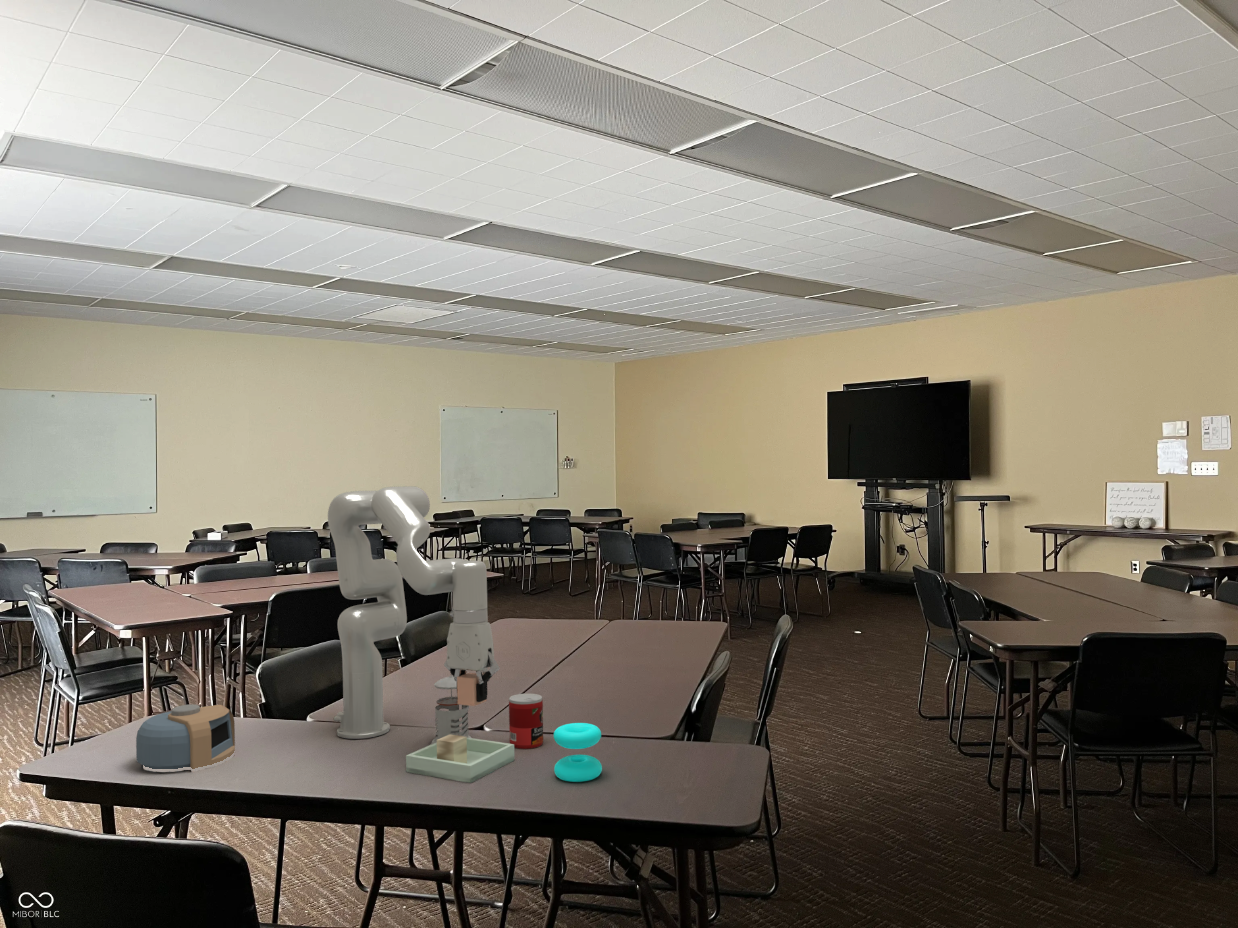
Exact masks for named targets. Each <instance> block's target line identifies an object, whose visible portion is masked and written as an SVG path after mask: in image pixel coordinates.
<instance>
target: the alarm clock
mask: <svg viewBox="0 0 1238 928" xmlns="http://www.w3.org/2000/svg"><path fill="white" fill-rule="evenodd" d="M235 729H236V728H235V719H234V714H233V713H232V711H231V710H230V709H229V708H227V707H226V706H224V705H223V704H215V705H209V706H208V705H207V706H206V705H205V706H201V707H200V705H198V704H182V705H178V706H175V707H173V708H172V709H171V711H170V710H169V711H165V712H162V713H158V714H155V715H154V716H151V717H149V718H148V719H146V720H145V721H143V722H142V723H141V725H140V727H139V728H138V730H137V734H136V737H135V738H136V740H135V742H136V743H135V747H136V758H135V759H136V762H137V763H138V764H140V765H141V766H142V765H144V766H145V767H149V768H152V769H178V768H183V767H191V768H192V769H195V768H198V767H203V766H207V765H212V764H214V763H217V762H220V761H223V760H224V759H226V758H227V757H230V756H231V755H232V754H233V753H234V751H235V752H236V742H235V740H236V739H235V738H236V736H235V735H236V733H235V732H236V731H235Z"/></svg>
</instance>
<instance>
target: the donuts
mask: <svg viewBox="0 0 1238 928" xmlns="http://www.w3.org/2000/svg"><path fill="white" fill-rule="evenodd" d="M601 738H602V731H601V729H600V728H599V727H598V726H597V725H595V724H592V723H587V722H572V723H566V724H562V725H560V726H558V727H557V728H556V729H555V730H554V731H553V740H554V741H555V743H556V744H557V745H558V746H560V747H562V748H565V749H570V750H581V749H582V750H584V749H587V748H591V747H593V746H595V745H597V744H598V742H599V741H600V740H601ZM553 768H554V769H553V772H554V774H555V776H556V777H557V778H559V780H562V781H565V782H571V783H582V782H583V783H584V782H589V781H592V780H594V779H596V778H598V777H599V776H600V774H601V773H602V771H603V765H602V763H601V762H600V760H599V759H597V757H594V756H592V755H588V754H581V753H580V754H571V755H566V756H564V757H562V758H560V759H558V760H557V762H556V763H555V764H554V767H553Z"/></svg>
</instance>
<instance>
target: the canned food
mask: <svg viewBox="0 0 1238 928" xmlns="http://www.w3.org/2000/svg"><path fill="white" fill-rule="evenodd" d="M508 718H509V719H508V722H509V724H508V725H509V728H508V729H509V744H514V749H520V750H530V749H536V748H539V747H540V746H542V745H543V743H544V701H543V696H542V695H540V694H538V693H537V694H536V693H519V694H514V695H511V696H509V699H508Z"/></svg>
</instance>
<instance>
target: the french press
mask: <svg viewBox="0 0 1238 928" xmlns="http://www.w3.org/2000/svg"><path fill="white" fill-rule="evenodd" d="M447 641H448V637H447V638H446V642H447ZM433 686H434V687H435V688H437V689H438V690H439V689H440V690H450V696H445V697H442V698H438V699H437V700H436V704H437V705H436V706H434V707H435V715H434V718H435V737H434V739H432V741H431V745H432V744H434V743H436V742H437V740H438V739H440V738H443V737H445V736H447V735H450V734H451V735H458V736H465V737H467V738H473V737H472V736H471V735H470V733H469V732H470V731H469V713H468V712H469V709H470V706H468V705H461V708H460V704H458V699H457V695H456V696H453V690H457V682H456V681H454V677H453V675H452V674H451V673H450V675H448V676H445V677H442V678H440V679H438V680H437V681H436V682H435V683H433ZM441 709H442V710H441ZM443 709H444V710H443ZM445 709H446V710H445ZM460 719H461V720H460Z"/></svg>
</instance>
